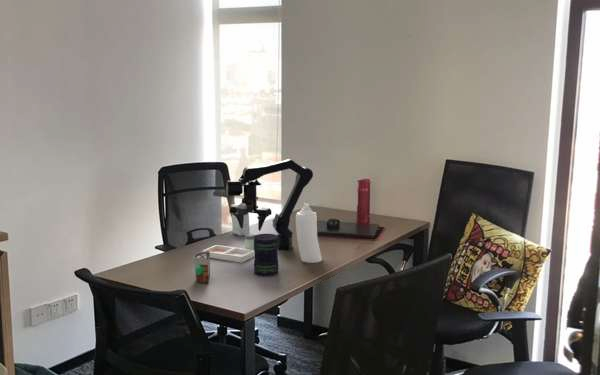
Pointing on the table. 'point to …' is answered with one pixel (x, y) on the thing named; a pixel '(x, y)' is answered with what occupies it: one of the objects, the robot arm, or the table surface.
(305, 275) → the table surface
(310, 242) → the white plastic bottle
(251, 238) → the grey mushroom
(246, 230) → the skincare box
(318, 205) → the table surface
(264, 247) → the storage jar
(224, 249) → the sorting tray
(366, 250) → the table surface
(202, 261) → the food container
